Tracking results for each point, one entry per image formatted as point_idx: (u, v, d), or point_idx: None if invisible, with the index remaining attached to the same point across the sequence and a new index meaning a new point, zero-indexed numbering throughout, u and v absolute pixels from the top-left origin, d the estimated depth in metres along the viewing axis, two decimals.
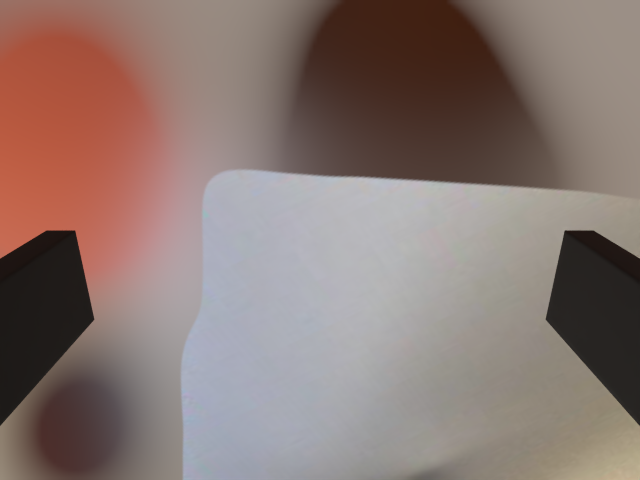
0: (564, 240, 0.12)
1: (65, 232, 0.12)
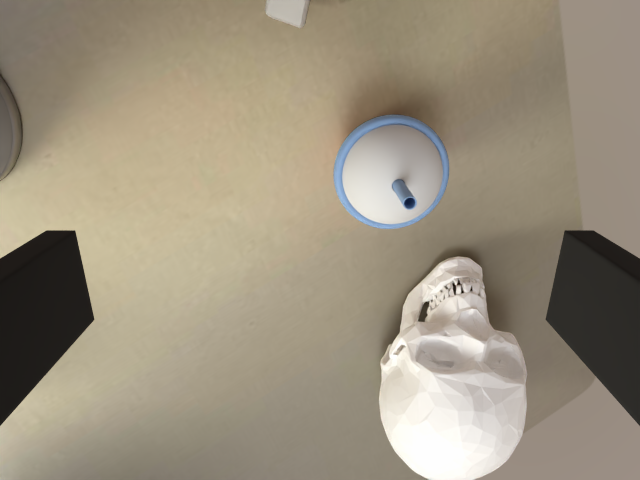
0: (564, 240, 0.12)
1: (65, 232, 0.12)
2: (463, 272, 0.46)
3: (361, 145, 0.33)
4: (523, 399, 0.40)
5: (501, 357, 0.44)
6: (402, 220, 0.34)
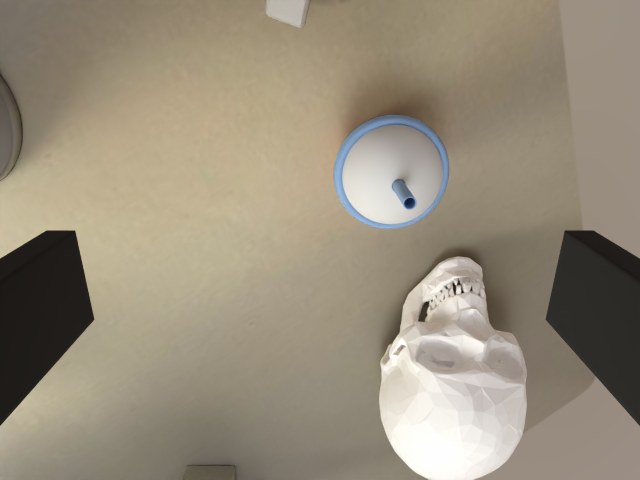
0: (564, 240, 0.12)
1: (65, 232, 0.12)
2: (463, 272, 0.46)
3: (361, 145, 0.33)
4: (523, 399, 0.40)
5: (501, 357, 0.44)
6: (402, 220, 0.34)
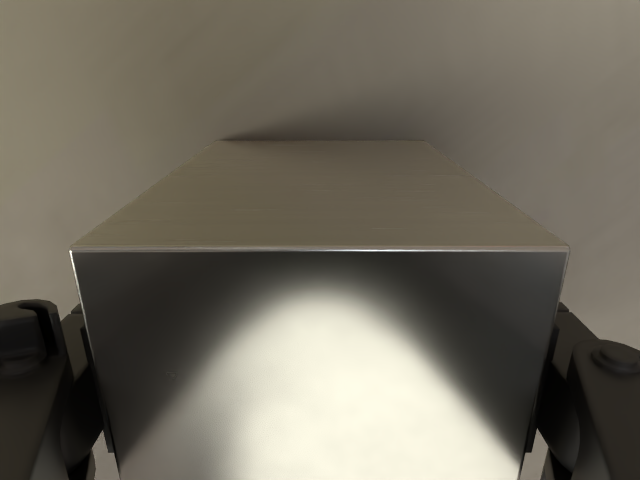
0: None
1: None
2: None
3: None
4: None
5: None
6: None
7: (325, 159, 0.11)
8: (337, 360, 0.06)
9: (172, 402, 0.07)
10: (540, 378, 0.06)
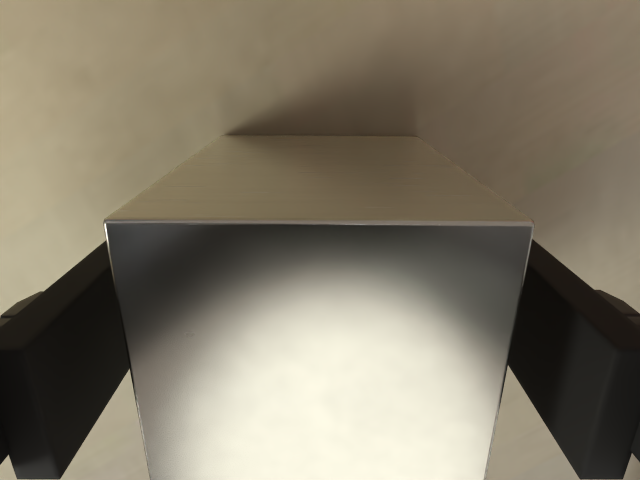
0: None
1: None
2: None
3: None
4: None
5: None
6: None
7: (324, 151, 0.12)
8: (334, 322, 0.07)
9: (189, 360, 0.07)
10: (511, 339, 0.07)
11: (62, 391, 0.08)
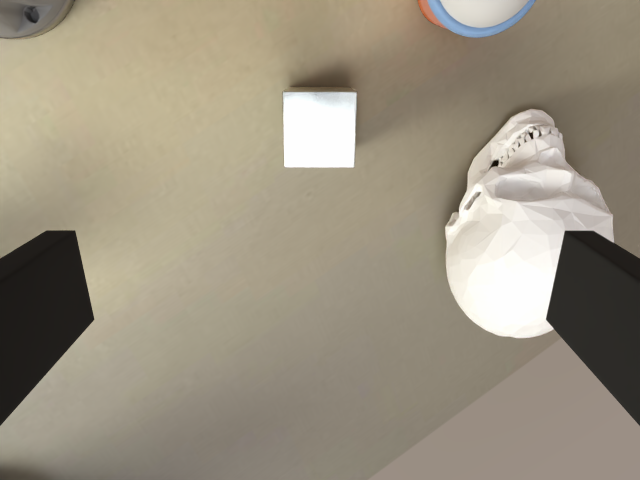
0: (564, 240, 0.12)
1: (65, 232, 0.12)
2: (538, 121, 0.44)
3: None
4: (612, 231, 0.38)
5: None
6: (499, 13, 0.32)
7: (321, 88, 0.43)
8: (322, 112, 0.39)
9: (295, 120, 0.39)
10: None
11: None
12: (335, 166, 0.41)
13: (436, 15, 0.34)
